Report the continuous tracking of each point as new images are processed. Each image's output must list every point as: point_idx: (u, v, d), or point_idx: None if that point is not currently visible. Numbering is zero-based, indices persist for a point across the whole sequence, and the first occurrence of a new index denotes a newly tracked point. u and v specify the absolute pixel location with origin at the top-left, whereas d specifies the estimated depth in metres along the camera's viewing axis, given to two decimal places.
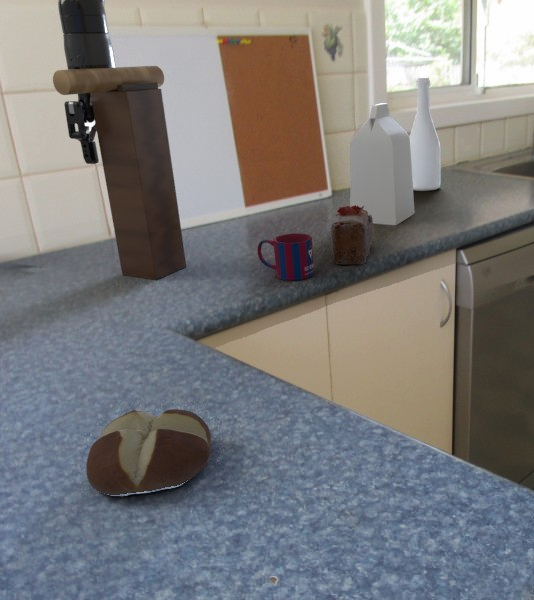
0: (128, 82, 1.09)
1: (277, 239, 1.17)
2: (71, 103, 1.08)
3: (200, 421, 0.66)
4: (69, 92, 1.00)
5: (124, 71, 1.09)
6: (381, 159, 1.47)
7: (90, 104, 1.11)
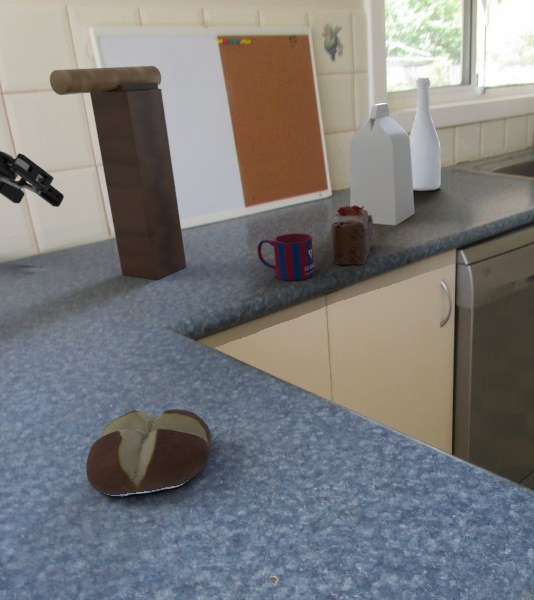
0: (125, 78, 1.09)
1: (277, 239, 1.17)
2: None
3: (200, 421, 0.66)
4: (67, 89, 1.00)
5: (118, 68, 1.09)
6: (381, 159, 1.47)
7: None
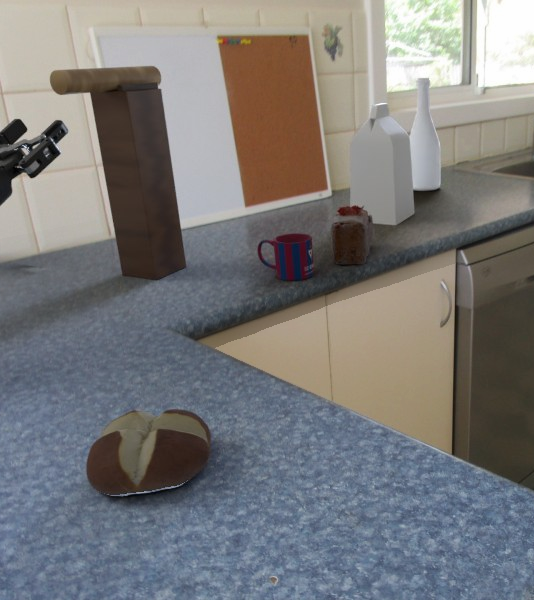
0: (125, 78, 1.09)
1: (277, 239, 1.17)
2: None
3: (200, 421, 0.66)
4: (67, 89, 1.00)
5: (118, 68, 1.09)
6: (381, 159, 1.47)
7: None
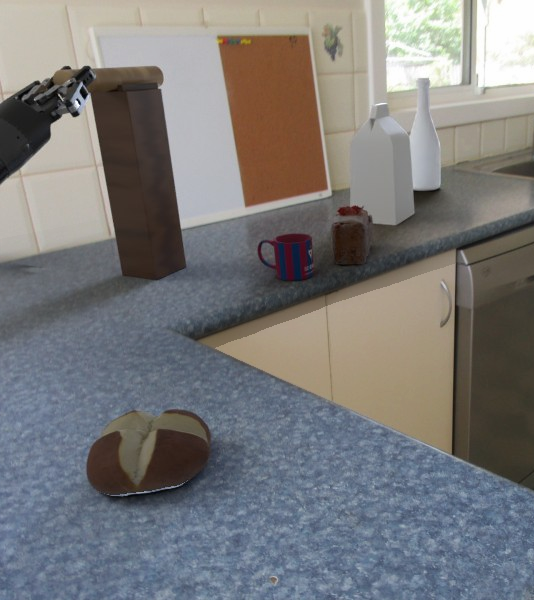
0: (128, 82, 1.09)
1: (277, 239, 1.17)
2: None
3: (200, 421, 0.66)
4: None
5: (124, 70, 1.09)
6: (381, 159, 1.47)
7: None
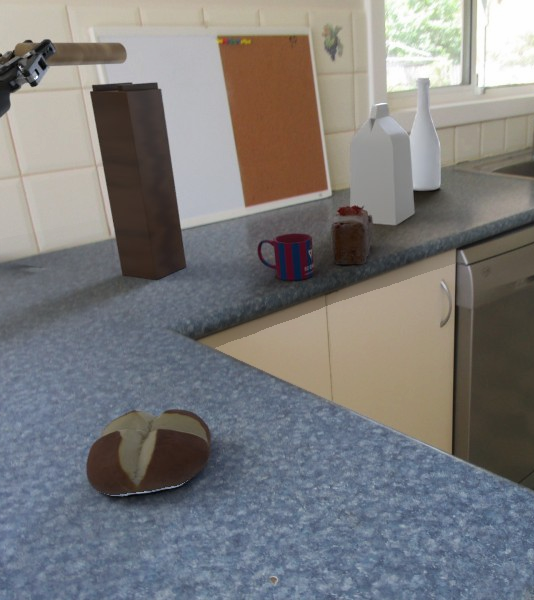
0: (90, 56, 1.14)
1: (277, 239, 1.17)
2: None
3: (200, 421, 0.66)
4: None
5: (85, 45, 1.13)
6: (381, 159, 1.47)
7: None
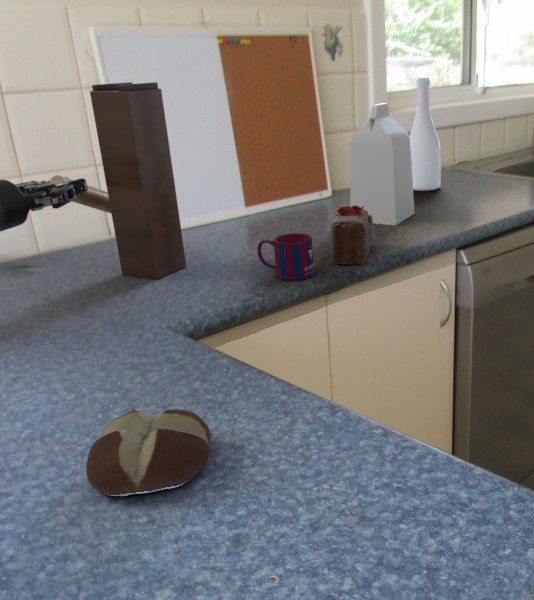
0: None
1: (277, 239, 1.17)
2: None
3: (200, 421, 0.66)
4: None
5: None
6: (381, 159, 1.47)
7: None
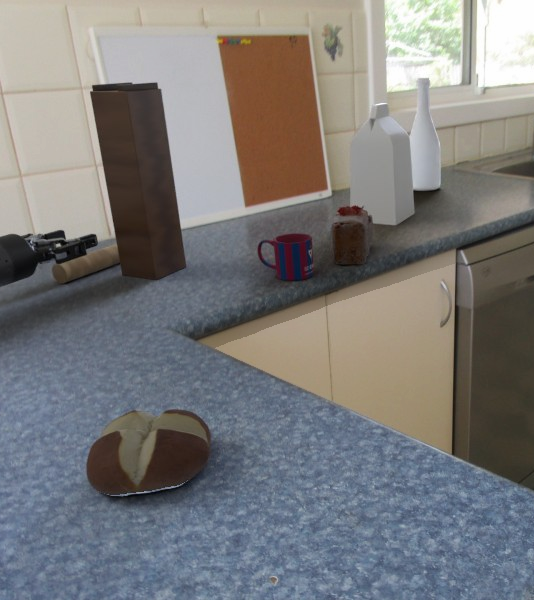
0: (118, 258, 1.25)
1: (277, 239, 1.17)
2: None
3: (200, 421, 0.66)
4: (66, 281, 1.16)
5: (114, 249, 1.25)
6: (381, 159, 1.47)
7: None
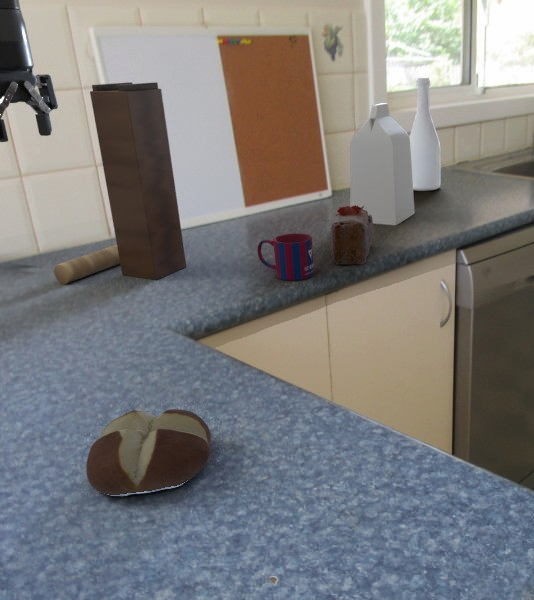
0: (119, 261, 1.25)
1: (277, 239, 1.17)
2: None
3: (200, 421, 0.66)
4: None
5: (117, 252, 1.25)
6: (381, 159, 1.47)
7: None
